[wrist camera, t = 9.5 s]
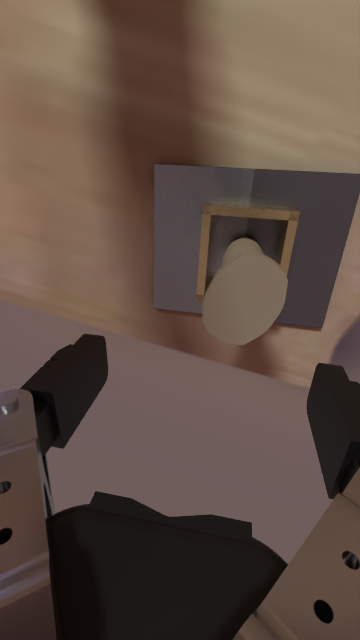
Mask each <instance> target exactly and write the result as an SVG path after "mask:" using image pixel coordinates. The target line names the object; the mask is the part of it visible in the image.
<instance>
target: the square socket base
mask: <svg viewBox="0 0 360 640" xmlns="http://www.w3.org/2000/svg"><path fill="white" fill-rule="evenodd" d="M359 193H360V174H349V173H328V172H308V171H287V170H266V169H246V168H225V167H204V166H184V165H163V164H154V277H153V308H157V309H166V310H174V311H183V312H191V313H200V314H202V310H203V301H204V296H205V293H206V291H207V288H208V286H209V285H210V283H211V281H212V279H213V277H214V276H215V274H216V272H217V271H218V270H219V269H220V268H221V267H222V260H223V257H224V254H225V252H226V250H227V248H228V246H229V245H230V243H231V242H234V241H235V240H237V239H240V238H241V237H242V236H246V237H247V238H248V239H251V240H253V241H256V242H257V243H258V245H259V246H260V248H261V250H262V251H263V254H264V255H266V256H268V257H270V258H271V259H273V260H274V261H276V262H277V263H278V264H279V265H280V266H281V268H282V269H283V270H284V272H285V274H286V276H287V279H288V285H287V292H286V298H285V303H284V306H283V309H282V310H281V312H280V314H279V315H278V317H277V318H276V320H275V321H274V322H276V323H285V324H293V325H302V326H310V327H319V328H322V327H323V323H324V319H325V316H326V312H327V309H328V305H329V301H330V298H331V294H332V290H333V287H334V283H335V280H336V276H337V272H338V269H339V265H340V262H341V258H342V254H343V251H344V247H345V244H346V240H347V236H348V233H349V229H350V226H351V222H352V218H353V215H354V211H355V208H356V204H357V200H358V197H359Z"/></svg>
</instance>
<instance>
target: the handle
mask: <svg viewBox="0 0 360 640" xmlns="http://www.w3.org/2000/svg"><path fill="white" fill-rule="evenodd" d="M287 285H288V279H287V276H286V274H285V272H284V270H283V269H282V268H281V266H280V265H279V264H278V263H277V262H276V261H274V260H273V259H271V258H270V257H268V256H266V255H264V254H263V251H262V250H261V248H260V246H259V245H258V243H257V242H256V241H253V240H251V239H248V238H247V237H246V236H242V237H241V238H240V239H237V240H235V241H234V242H231V243H230V245H229V246H228V248H227V250H226V252H225V254H224V257H223V260H222V267H221V268H220V269H219V270H218V271H217V272H216V274H215V276H214V277H213V279H212V281H211V283H210V285H209V286H208V288H207V291H206V293H205V296H204V301H203V310H202V324H203V326H204V328H205V329H206V330H207V331H208V333H210V334H211V335H212V336H213V337H215V338H216V339H218V340H220V341H222V342H225V343H228V344H231V345H245V344H247V343H248V342H250V341H252V340H254V339H256V338H257V337H259V336H261V335H262V334H263V333H265V332H266V331H267V330H268V329H269V328H270V326H271V325H272V324H273V322H274V321H275V320H276V318H277V317H278V315H279V314H280V312H281V310H282V309H283V306H284V303H285V298H286V292H287Z"/></svg>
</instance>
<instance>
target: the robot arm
mask: <svg viewBox="0 0 360 640" xmlns="http://www.w3.org/2000/svg"><path fill="white" fill-rule="evenodd" d="M107 376H108V363H107V352H106V342H105V338H104V336H99V335H90V334H84V335H82V337H80V338H79V340H78V341H77V342H76V343H75V344H74V345H68V346H66V347H64V348H62V349H60V350H58V351H57V352H56V353H55V354H54V355H53V356H52V357H51V358H50V360H48V361H47V362H46V363H45V364H44V366H43V367H41V368H40V369H39V370H38V371H37V372H36V373H35V374H34V375H33V376H32V377H31V378H30V379H29V380H28V381H27V382H26V383H25V384H24V385H23V386H22V387H21V388H20V389H12V390H6V391H3V392H0V640H360V384H359V383H358V382H353V381H350V380H349V379H348V376H347V374H346V372H345V370H344V368H343V367H342V366H338V365H331V364H323V363H318V364H317V366H316V369H315V373H314V376H313V380H312V384H311V387H310V391H309V395H308V399H307V415H308V419H309V423H310V427H311V431H312V435H313V438H314V442H315V446H316V450H317V454H318V458H319V462H320V465H321V470H322V474H323V477H324V482H325V486H326V490H327V494H328V497H329V498H330V499H333V501H332V502H331V503H330V505H329V507H328V508H327V509H326V511H325V512H324V514H323V515H322V517H321V518H320V519H319V521H318V522H317V524H316V525H315V527H314V528H313V530H312V531H311V533H310V534H309V535H308V537H307V538H306V540H305V542H304V543H303V544H302V546H301V547H300V548H299V550H298V551H297V553H296V554H295V556H294V557H293V559H292V560H291V562H290V563H289V564H287V563H286V562H285V561H284V560H283V559H282V558H281V557H280V556H279V555H278V554H277V553H275V552H274V551H273V550H272V549H270V548H269V547H268V546H266V545H265V544H263V543H262V542H260V541H258V540H256V539H255V538H253V537H252V523H251V522H246V521H240V520H235V519H230V518H226V517H221V516H216V515H195V516H180V517H168V516H165V515H163V514H161V513H159V512H157V511H155V510H153V509H151V508H149V507H147V506H145V505H143V504H141V503H139V502H137V501H135V500H134V499H131V498H127V497H122V496H116V495H112V494H107V493H102V492H97V491H96V492H95V494H94V496H93V498H92V500H91V503H90V504H84V505H79V506H75V507H71V508H68V509H65V510H63V511H61V512H58V513H56V514H55V509H54V503H53V496H52V490H51V482H50V476H49V470H48V462H47V457H46V453H47V451H48V450H49V448H50V447H51V446H53V447H58V448H64V447H65V446H66V444H67V442H68V441H69V439H70V438H71V436H72V435H73V433H74V431H75V430H76V428H77V427H78V425H79V424H80V422H81V420H82V419H83V417H84V416H85V414H86V413H87V411H88V409H89V408H90V406H91V405H92V403H93V401H94V400H95V398H96V397H97V395H98V394H99V392H100V391H101V389H102V388H103V386H104V384H105V382H106V380H107Z"/></svg>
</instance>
